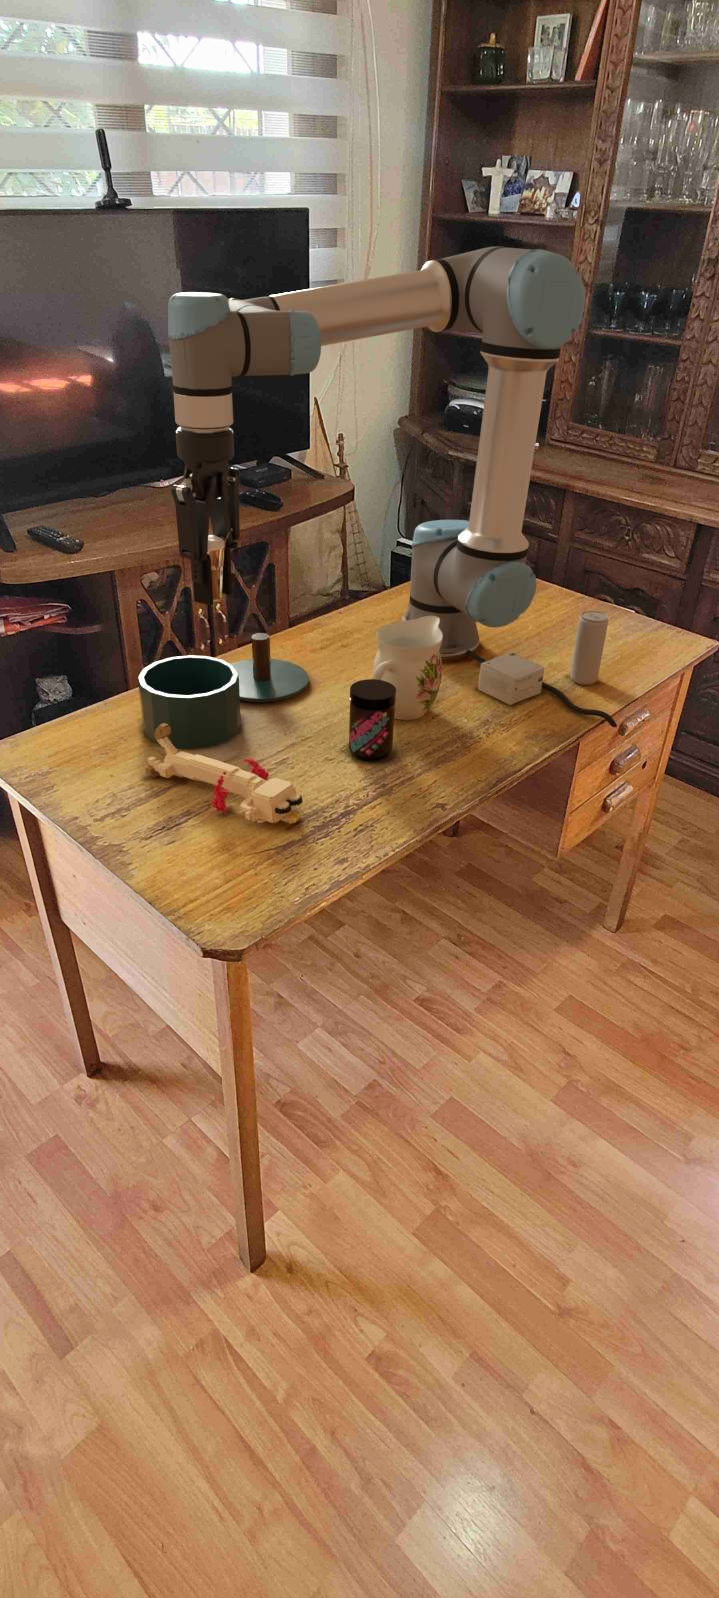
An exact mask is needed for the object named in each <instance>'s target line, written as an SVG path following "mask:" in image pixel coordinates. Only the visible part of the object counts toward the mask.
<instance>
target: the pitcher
mask: <svg viewBox="0 0 719 1598" xmlns="http://www.w3.org/2000/svg"><path fill="white" fill-rule="evenodd" d="M439 623H440V618H439V617H436V616H424V617H420V618H417V619H413V620H406V621H401V620H399V621H394V622H390V623H387V624H386V625H383V626H381V627H379V629H378V630H377V631H376V641H377V646H378V647H377V648H378V649H377V651H376V654H375V656H374V660H373V665H372V678H371V679H377V680H383V681H386V682H389V683H391V684H392V685H394V686H395V688H396V702H395V717H394V719H397V720H404V721H410V720H416V719H419V718H421V717H424V715H425V714H426V713H427V712H428V711H429V710H430V708H431V707H432V706H433V704H434V702H435V700H436V698H437V696H438V694H439V691H440V687H441V682H442V676H443V662H441V656H440V653H439V650H440V646H441V643H442V639H443V634H442V631H441V630H440V628H439Z"/></svg>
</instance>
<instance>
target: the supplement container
mask: <svg viewBox="0 0 719 1598" xmlns="http://www.w3.org/2000/svg"><path fill="white" fill-rule="evenodd" d="M395 702H396V688H395V686H394V685H392V684H391V683H389V682H386V681H383V680H377V679H372V678H367V679H361V680H358V681H355V682H353V683H352V684H351V685H350V687H349V719H348V722H349V723H348V724H349V725H348V751H349V752H350V754H351V755H352V757H354V758H356V759H358V760H361V761H365V762H379V761H383V760H385V759H386V758H388V757H389V756H390V755H391V754H392V753H393V750H394V735H395V734H394V732H395V718H394V717H395Z"/></svg>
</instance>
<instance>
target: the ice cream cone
mask: <svg viewBox="0 0 719 1598" xmlns="http://www.w3.org/2000/svg"><path fill="white" fill-rule="evenodd" d="M229 533H230V532H229ZM229 533H228V535H229ZM228 535H227V538H228ZM227 538H226V540H227ZM226 540H225V542H224V540H223V539H222V538H220V537H217V536H215V535H213V534H208V549H207V558H208V559H211V569H212V587H213V603H218V602H220V601H222V600H223V593H222V580H223V564H224V552H225V543H226Z"/></svg>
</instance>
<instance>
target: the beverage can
mask: <svg viewBox="0 0 719 1598" xmlns="http://www.w3.org/2000/svg"><path fill="white" fill-rule="evenodd" d="M608 625H609V616H608V614H607V613H604V612H602V611H597V610H586V611H582V612H581V613H580V616H579V618H578V624H577V630H576V636H575V641H574V648H573V654H572V660H571V666H570V673H569V677H570V679H571V680H572V682H574V683H575V684H577V685H580V686H581V685H582V686H590V685H593V684H595V683H596V682H597V681H598V680H599V674H600V668H601V663H602V662H601V661H602V658H603V653H604V646H605V643H606V638H607V637H606V636H607V631H608Z"/></svg>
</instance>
